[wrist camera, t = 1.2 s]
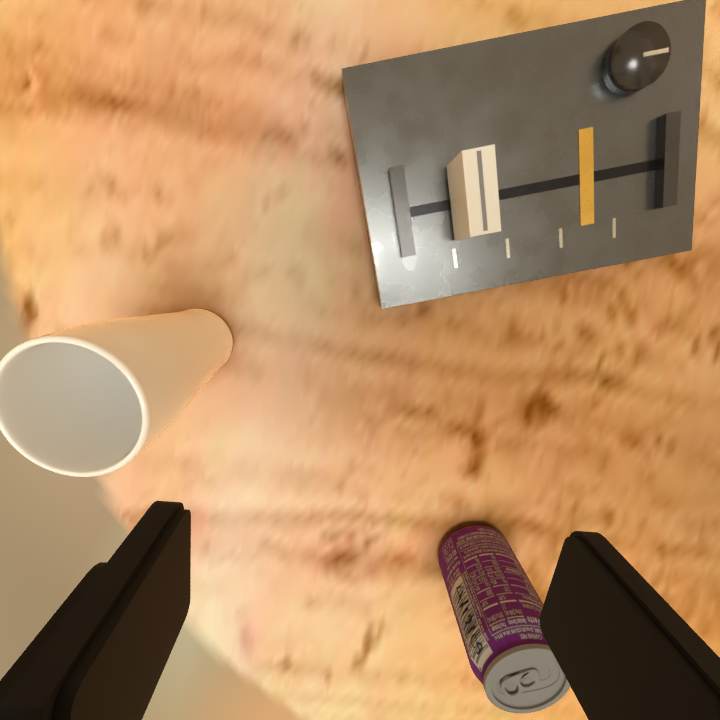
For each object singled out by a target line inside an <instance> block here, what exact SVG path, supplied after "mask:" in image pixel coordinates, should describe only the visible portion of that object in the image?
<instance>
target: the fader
mask: <svg viewBox="0 0 720 720" xmlns="http://www.w3.org/2000/svg"><path fill="white" fill-rule="evenodd" d="M446 167H447V176H448V185H449V195H450V204H451V213H452V222H453V231H454V240H458V239H464V238H469V237H474V236H479V235H484V234H489V233H494V232H499V231H501V220H500V207H499V193H498V180H497V167H496V154H495V144H493V145H488V146H483V147H478V148H473V149H468V150H463V151H461V152H460V153H459V154H458V155H457V156H456V157H455V158H454V159H453V160H452V161H451V162H450V163H449V164H448V165H447V166H446Z"/></svg>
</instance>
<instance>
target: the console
mask: <svg viewBox="0 0 720 720" xmlns="http://www.w3.org/2000/svg"><path fill="white" fill-rule="evenodd" d="M705 7H706V0H683V1H678V2H673V3H668V4H663V5H658V6H653V7H648V8H643V9H638V10H633V11H628V12H623V13H618V14H613V15H608V16H603V17H598V18H593V19H588V20H583V21H578V22H573V23H568V24H563V25H558V26H553V27H548V28H543V29H538V30H533V31H528V32H523V33H518V34H513V35H508V36H503V37H498V38H493V39H488V40H483V41H478V42H473V43H468V44H463V45H458V46H453V47H448V48H443V49H438V50H433V51H428V52H423V53H418V54H413V55H408V56H403V57H398V58H393V59H388V60H383V61H378V62H373V63H368V64H363V65H358V66H353V67H348V68H343V69H342V85H343V91H344V97H345V103H346V109H347V115H348V120H349V126H350V132H351V138H352V144H353V150H354V156H355V162H356V168H357V173H358V179H359V185H360V191H361V197H362V203H363V209H364V215H365V221H366V226H367V232H368V238H369V244H370V250H371V256H372V262H373V268H374V274H375V279H376V285H377V291H378V297H379V303H380V307H381V308H382V309H384V308H389V307H395V306H400V305H405V304H411V303H416V302H421V301H426V300H432V299H437V298H442V297H447V296H453V295H458V294H463V293H468V292H474V291H479V290H484V289H489V288H495V287H500V286H505V285H510V284H516V283H521V282H526V281H531V280H537V279H542V278H547V277H553V276H558V275H563V274H568V273H574V272H579V271H584V270H589V269H595V268H600V267H605V266H610V265H616V264H621V263H626V262H631V261H637V260H642V259H647V258H652V257H658V256H663V255H668V254H673V253H679V252H684V251H689V250H692V233H693V215H694V198H695V181H696V163H697V146H698V129H699V111H700V94H701V76H702V59H703V42H704V24H705ZM493 144H495V154H496V167H497V180H498V193H499V207H500V220H501V231H499V232H494V233H489V234H484V235H479V236H474V237H469V238H464V239H458V240H454V231H453V222H452V213H451V204H450V195H449V185H448V176H447V167H446V166H447V165H448V164H449V163H450V162H451V161H452V160H453V159H454V158H455V157H456V156H457V155H458V154H459V153H460V152H461V151H463V150H468V149H473V148H478V147H483V146H488V145H493Z"/></svg>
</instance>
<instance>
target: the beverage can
mask: <svg viewBox="0 0 720 720" xmlns="http://www.w3.org/2000/svg"><path fill="white" fill-rule="evenodd" d="M439 565H440V568H441V571H442V575H443V578H444V581H445V584H446V588H447V591H448V594H449V597H450V601H451V604H452V607H453V610H454V614H455V617H456V620H457V623H458V627H459V630H460V633H461V636H462V640H463V643H464V646H465V649H466V653H467V656H468V659H469V662H470V665H471V668H472V670H473V672H474V674H475V675H476V677H477V678H478V679H479V680H480V682H481V683H482V684H483V685H484V689H485V692H486V695H487V697H488V699H489V700H490V701H491V703H493V704H494V705H495V706H496V707H498V708H500V709H502V710H504V711H507V712H512V713H531V712H536V711H539V710H542V709H545V708H547V707H549V706H551V705H553V704H554V703H556V702H557V701H558V700H560V699H561V698H562V697H563V696H564V695H565V693H566V692H567V691H568V689H569V687H570V684H569V682H568V681H567V679H566V677H565V675H564V673H563V671H562V669H561V668H560V666H559V664H558V662H557V660H556V658H555V656H554V655H553V653H552V651H551V649H550V647H549V645H548V644H547V642H546V640H545V638H544V636H543V634H542V632H541V628H540V620H539V619H540V614H541V611H542V608H543V603H542V601H541V600H540V598H539V596H538V594H537V593H536V591H535V589H534V587H533V586H532V584H531V582H530V580H529V579H528V577H527V575H526V573H525V572H524V570H523V568H522V566H521V565H520V563H519V561H518V559H517V558H516V556H515V554H514V552H513V551H512V549H511V547H510V545H509V544H508V542H507V540H506V539H505V537H504V536H503V535H502V534H501V533H500V532H499V531H497V530H495V529H493V528H491V527H487V526H480V525H476V526H469V527H465V528H462V529H460V530H458V531H456V532H454V533H453V534H451V535H450V536H449V537H448V538H447V539H446V540H445V542H444V543H443V545H442V546H441V549H440V552H439Z"/></svg>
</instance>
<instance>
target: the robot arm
mask: <svg viewBox="0 0 720 720" xmlns="http://www.w3.org/2000/svg"><path fill="white" fill-rule="evenodd" d="M190 549H191V513H190V510H184V506H183V504H182V503H180V502H166V501H156V502H154V503H153V504H152V505H151V506H150V508H149V509H148V510H147V512H146V513H145V514H144V516H143V517H142V518H141V519H140V521H139V522H138V523H137V525H136V526H135V527H134V528H133V530H132V531H131V532H130V534H129V535H128V536H127V538H126V539H125V540H124V541H123V543H122V544H121V545H120V547H119V548H118V549H117V551H116V552H115V553H114V554H113V556H112V557H111V558H110V560H109V561H108V562H107V563H98V564H97V565H95V566H94V567H93V568H92V569H91V570H90V571H89V572H88V573H87V574H86V576H85V577H84V578H83V579H82V580H81V582H80V583H79V584H78V585H77V587H76V588H75V589H74V590H73V592H72V593H71V594H70V595H69V596H68V598H67V599H66V600H65V601H64V603H63V604H62V605H61V606H60V608H59V609H58V610H57V611H56V613H55V614H54V615H53V616H52V618H51V619H50V620H49V621H48V622H47V624H46V625H45V626H44V628H43V629H42V630H41V631H40V632H39V634H38V635H37V636H36V637H35V639H34V640H33V641H32V642H31V643H30V645H29V646H28V647H27V648H26V650H25V651H24V652H23V654H22V655H21V656H20V657H19V658H18V660H17V661H16V662H15V663H14V665H13V666H12V667H11V668H10V670H9V671H8V672H7V673H6V675H5V676H4V677H3V678H2V679H1V681H0V720H142V718H143V715H144V713H145V711H146V709H147V706H148V704H149V702H150V699H151V697H152V695H153V692H154V690H155V688H156V685H157V683H158V681H159V678H160V676H161V674H162V672H163V669H164V667H165V665H166V662H167V660H168V658H169V655H170V653H171V651H172V649H173V646H174V644H175V642H176V639H177V637H178V635H179V632H180V630H181V628H182V625H183V623H184V621H185V618H186V616H187V613H188V609H189V604H190ZM539 620H540V628H541V632H542V634H543V636H544V638H545V640H546V642H547V644H548V645H549V647H550V649H551V651H552V653H553V655H554V656H555V658H556V660H557V662H558V664H559V666H560V668H561V669H562V671H563V673H564V675H565V677H566V679H567V681H568V682H569V684H570V686H571V688H572V690H573V692H574V693H575V695H576V697H577V699H578V701H579V703H580V705H581V706H582V708H583V710H584V712H585V714H586V716H587V717H588V719H589V720H720V658H719V657H718V656H717V655H716V654H715V653H714V652H713V650H712V649H711V648H710V647H709V646H708V645H707V644H706V643H705V642H704V641H703V640H702V639H701V638H700V637H699V636H698V635H697V634H696V633H695V632H694V631H693V630H692V628H691V627H690V626H689V625H688V624H687V623H686V622H685V621H684V620H683V619H682V618H681V617H680V616H679V615H678V614H677V613H676V612H675V611H674V610H673V609H672V608H671V606H670V605H669V604H668V603H667V602H666V601H665V600H664V599H663V598H662V597H661V596H660V595H659V594H658V593H657V592H656V591H655V590H654V589H653V588H652V587H651V586H650V584H649V583H648V582H647V581H646V580H645V579H644V578H643V577H642V576H641V575H640V574H639V573H638V572H637V571H636V570H635V569H634V568H633V567H632V566H631V565H630V563H629V562H628V561H627V560H626V559H625V558H624V557H623V556H622V555H621V554H620V553H619V552H618V551H617V550H616V549H615V548H614V547H613V546H612V545H611V544H610V543H609V541H608V540H607V539H606V538H605V537H604V536H602V535H601V534H599V533H596V532H582V531H574V532H573V533H571V535H570V537H567V538H566V539H565V541H564V544H563V547H562V550H561V553H560V557H559V560H558V563H557V566H556V569H555V572H554V575H553V578H552V581H551V584H550V587H549V590H548V593H547V596H546V599H545V602H544V605H543V608H542V611H541V614H540V619H539Z"/></svg>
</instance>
